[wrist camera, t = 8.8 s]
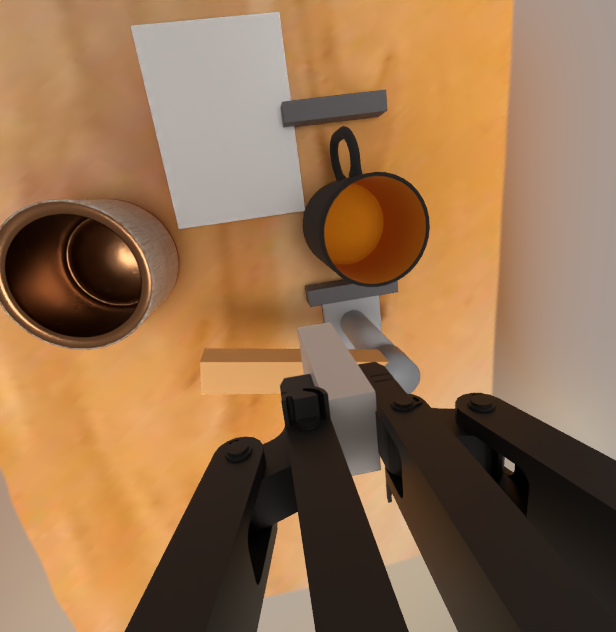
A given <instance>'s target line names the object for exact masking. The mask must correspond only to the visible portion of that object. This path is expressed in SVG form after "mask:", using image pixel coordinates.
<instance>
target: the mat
mask: <svg viewBox="0 0 616 632" xmlns="http://www.w3.org/2000/svg"><path fill="white" fill-rule="evenodd" d="M131 30H132V34H133V38H134V43H135V47H136V51H137V55H138V59H139V64H140V68H141V72H142V76H143V80H144V85H145V89H146V93H147V97H148V102H149V106H150V110H151V114H152V118H153V123H154V127H155V131H156V135H157V139H158V144H159V148H160V152H161V156H162V160H163V165H164V169H165V173H166V177H167V182H168V186H169V190H170V194H171V198H172V203H173V207H174V211H175V215H176V219H177V224H178V228H179V229H184V228H190V227H197V226H204V225H211V224H218V223H225V222H232V221H239V220H246V219H253V218H260V217H266V216H273V215H280V214H287V213H294V212H301V211H305V205H304V197H303V189H302V182H301V174H300V167H299V159H298V151H297V144H296V136H295V128H294V126H291V127H283V122H282V115H281V108H280V107H281V104H282V102H284V101H291V98H290V90H289V83H288V75H287V67H286V60H285V52H284V44H283V37H282V29H281V22H280V14H279V12H271V13H260V14H250V15H239V16H228V17H217V18H207V19H196V20H185V21H174V22H164V23H153V24H142V25H131Z"/></svg>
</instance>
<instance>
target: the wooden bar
mask: <svg viewBox="0 0 616 632" xmlns="http://www.w3.org/2000/svg"><path fill="white" fill-rule="evenodd" d="M348 350H349V352H350V353H351V355H352V356H353V358H354V360H355V361H356V363H357V364H363V363H369V362H377V363H379V364H381V365H383V366H385V367H386V368H387V370H388V371H389V372H390V374H391V375H392V376H393V377H394V379H395V380H396V381H397V382H398V383H399V384H400V386H401V387H402V388H403V389H404V391H405V392H406V393H407V394H410V393H412V392H413V391H414V390H415V389H416V387H417V386H418V384H419V381H420V371H419V369H418V367H417V366H416V365H415V364H414V363H413V362H412V361H411V360H410V359H409V358H408V357H407V356H406V355H405V354H404V353H403V352H402V351H401V350H400V349H399V348H398V347H397V346H394V345H389V344H388V345H382V346H380V347H378V348H376V349H348ZM299 375H304V371H303V364H302V357H301V349H204V352H203V355H202V358H201V361H200V376H201V395H212V394H281V391H280V384H281V383H282V381H283V379H284V378H288V377H294V376H299Z"/></svg>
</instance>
